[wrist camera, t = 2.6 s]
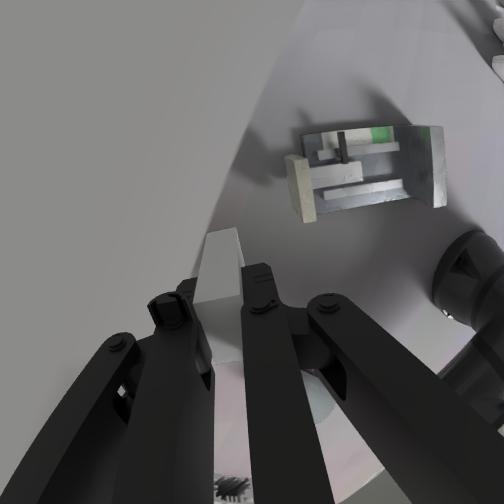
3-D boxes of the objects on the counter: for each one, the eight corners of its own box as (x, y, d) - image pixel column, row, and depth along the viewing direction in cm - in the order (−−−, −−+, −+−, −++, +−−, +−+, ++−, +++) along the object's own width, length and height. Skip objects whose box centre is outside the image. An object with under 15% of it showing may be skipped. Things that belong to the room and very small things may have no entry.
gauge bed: (412, 124, 30) (442, 126, 24) (418, 193, 33) (446, 205, 28) (300, 135, 30) (315, 136, 24) (312, 211, 34) (328, 229, 28)
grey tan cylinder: (295, 357, 42) (304, 395, 35) (331, 373, 45) (343, 408, 38) (253, 393, 45) (256, 430, 38) (289, 407, 48) (296, 441, 41)
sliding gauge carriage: (351, 129, 29) (378, 130, 23) (359, 192, 32) (385, 207, 26) (278, 139, 29) (290, 141, 23) (290, 205, 32) (303, 223, 26)
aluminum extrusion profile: (174, 497, 68) (172, 521, 59) (200, 469, 58) (199, 502, 49) (215, 503, 71) (215, 526, 62) (251, 477, 61) (254, 507, 52)
